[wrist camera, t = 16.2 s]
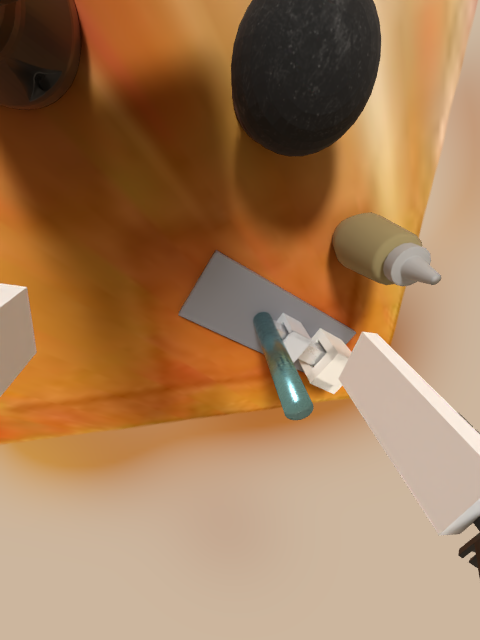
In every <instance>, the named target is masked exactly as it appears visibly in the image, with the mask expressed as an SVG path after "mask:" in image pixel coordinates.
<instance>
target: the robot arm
mask: <svg viewBox="0 0 480 640" xmlns="http://www.w3.org/2000/svg"><path fill="white" fill-rule="evenodd" d="M80 51H81V36H80V26H79V20H78V15H77V11H76V7H75V3H74V0H0V105H2V106H6V107H10V108H15V109H24V110H28V109H38V108H42V107H45V106H47V105H50V104H52V103H53V102H55V101H57V100H58V99H59V98H60V97H61V96H63V95H64V93H65V92H66V91H67V90H68V88H69V87H70V85H71V84H72V82H73V80H74V78H75V75H76V72H77V69H78V65H79V60H80ZM36 352H37V351H36V345H35V338H34V331H33V325H32V318H31V311H30V304H29V298H28V291H27V287H23V286H16V285H8V284H0V396H1V395H2V394H3V393H4V392H5V390H6V389H7V388H8V387H9V385H10V384H11V383H12V382H13V381H14V379H15V378H16V377H17V376H18V374H19V373H20V372H21V371H22V370H23V368H24V367H25V366H26V365H27V363H28V362H29V361H30V360H31V358H32V357H33V356H34V355H35V354H36ZM338 379H339V380H340V382H341V384H342V385H343V387H344V388H345V390H346V391H347V393H348V394H349V396H350V398H351V399H352V400H353V402H354V404H355V405H356V407H357V408H358V410H359V412H360V413H361V415H362V416H363V418H364V419H365V421H366V422H367V424H368V426H369V427H370V429H371V430H372V432H373V433H374V435H375V436H376V438H377V440H378V441H379V443H380V444H381V446H382V447H383V449H384V450H385V452H386V454H387V455H388V457H389V458H390V460H391V461H392V463H393V465H394V466H395V468H396V469H397V471H398V472H399V474H400V476H401V477H402V479H403V480H404V481H405V483H406V485H407V486H408V488H409V490H410V491H411V492H412V494H413V496H414V497H415V499H416V500H417V502H418V504H419V505H420V507H421V508H422V509H423V511H424V513H425V514H426V516H427V518H428V519H429V521H430V522H431V524H432V525H433V527H434V528H435V530H436V531H437V533H438V535H450V534H460V533H461V532H463V531H464V530H465V529H466V528H467V527H468V526H470V525H471V524H472V523H474V524H475V526H476V527H477V528H478V530H479V531H480V433H479V432H478V431H477V430H475V429H474V428H473V426H472V425H471V424H470V423H469V422H468V421H467V420H466V419H465V418H464V417H463V416H462V415H460V414H459V413H458V412H456V411H455V410H454V409H453V408H452V407H451V406H450V405H449V404H448V403H447V402H446V401H445V400H444V399H443V398H442V397H441V396H440V395H439V394H438V393H437V392H436V391H435V390H434V389H433V388H432V387H431V386H430V385H429V384H428V383H427V382H426V381H425V380H424V379H423V378H422V377H421V376H420V375H419V374H417V373H416V372H415V371H414V370H413V369H412V368H411V367H410V366H409V365H408V364H407V363H406V362H405V361H404V360H403V359H402V358H401V357H400V356H399V355H398V354H397V353H396V352H395V351H394V350H393V349H392V348H391V347H390V346H389V345H388V344H387V343H386V342H385V341H384V340H383V339H382V338H381V337H380V336H379V335H378V334H376V333H368V332H362V333H361V335H360V337H359V339H358V341H357V343H356V345H355V347H354V349H353V351H352V353H351V355H350V357H349V359H348V361H347V363H346V365H345V367H344V369H343V371H342V373H341V375H340V376H339V378H338ZM471 551H473V552H476V555H475V556H474V557H472V558H471V559H470V560H469V563H471V564H472V565H474V566H475V567H477V568H478V570H479V577H480V533H479V534H477V535H476V536H475V537H474V538H472V539H471V540H470V541H469V542H467V543H466V544H465V545H464V546H463V547H461V548H460V549H459V556H460V557H461V558H464V557H465V556H466V555H467V554H469V553H470V552H471Z"/></svg>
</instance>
